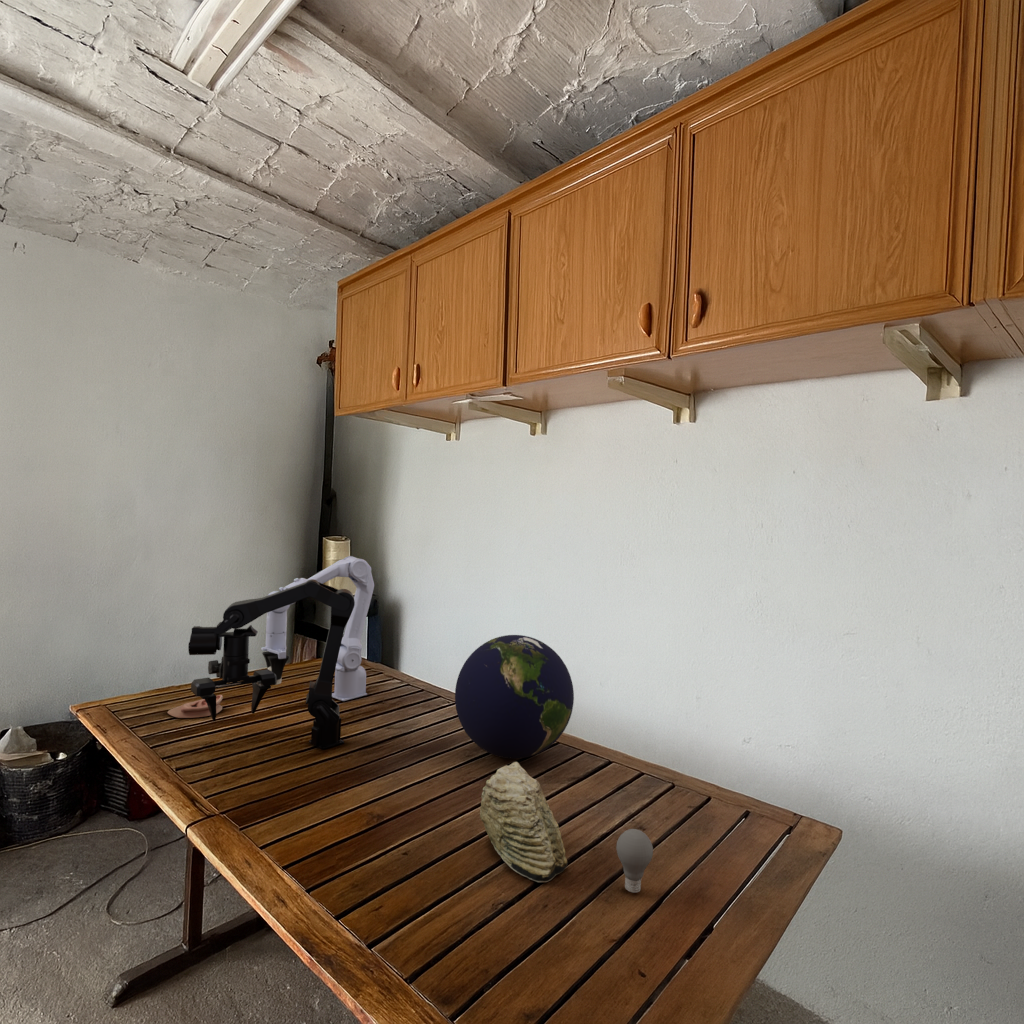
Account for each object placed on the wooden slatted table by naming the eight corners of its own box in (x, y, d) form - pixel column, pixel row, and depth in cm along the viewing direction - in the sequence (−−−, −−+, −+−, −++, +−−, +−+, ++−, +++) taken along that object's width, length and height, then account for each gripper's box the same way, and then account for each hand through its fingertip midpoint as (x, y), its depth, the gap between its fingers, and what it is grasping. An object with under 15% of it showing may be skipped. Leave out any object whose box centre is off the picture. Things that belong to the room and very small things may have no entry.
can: (273, 680, 191) (273, 665, 191) (284, 682, 190) (284, 666, 189) (264, 683, 187) (264, 668, 187) (275, 685, 186) (276, 669, 186)
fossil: (501, 827, 124) (504, 751, 124) (575, 868, 111) (578, 784, 111) (467, 843, 118) (470, 763, 118) (541, 889, 105) (545, 799, 105)
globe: (500, 724, 181) (504, 620, 180) (592, 752, 164) (597, 636, 163) (427, 755, 157) (432, 635, 156) (526, 792, 139) (533, 657, 139)
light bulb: (610, 879, 108) (613, 822, 108) (644, 879, 109) (647, 822, 109) (619, 902, 102) (622, 840, 102) (655, 901, 103) (658, 840, 103)
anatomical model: (160, 701, 176) (189, 689, 187) (159, 715, 176) (188, 703, 187) (202, 706, 173) (229, 694, 185) (201, 721, 173) (228, 708, 185)
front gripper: (262, 643, 168) (260, 701, 168) (185, 651, 156) (183, 714, 156) (278, 651, 160) (276, 713, 160) (198, 661, 147) (196, 728, 148)
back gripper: (256, 628, 192) (254, 673, 192) (268, 638, 180) (267, 685, 180) (279, 626, 196) (278, 670, 196) (294, 636, 184) (292, 682, 184)
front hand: (233, 716), depth 156 cm, fingers open, 9 cm apart
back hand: (274, 677), depth 188 cm, fingers closed on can, 4 cm apart
